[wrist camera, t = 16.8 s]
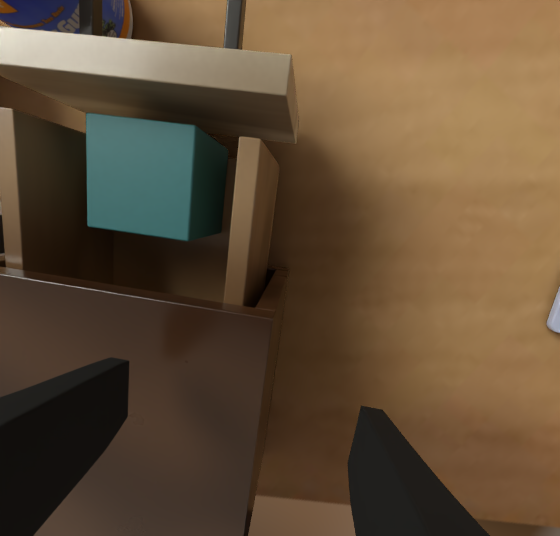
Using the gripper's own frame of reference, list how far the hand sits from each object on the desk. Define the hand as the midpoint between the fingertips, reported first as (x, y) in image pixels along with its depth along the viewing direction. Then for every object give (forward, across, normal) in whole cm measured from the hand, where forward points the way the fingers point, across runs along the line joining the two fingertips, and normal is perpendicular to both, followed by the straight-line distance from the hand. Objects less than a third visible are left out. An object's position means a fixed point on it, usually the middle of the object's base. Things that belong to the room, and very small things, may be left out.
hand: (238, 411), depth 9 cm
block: (+8, +6, -6) cm, 12 cm away
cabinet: (+10, +6, +5) cm, 13 cm away
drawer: (+9, +6, -6) cm, 13 cm away
